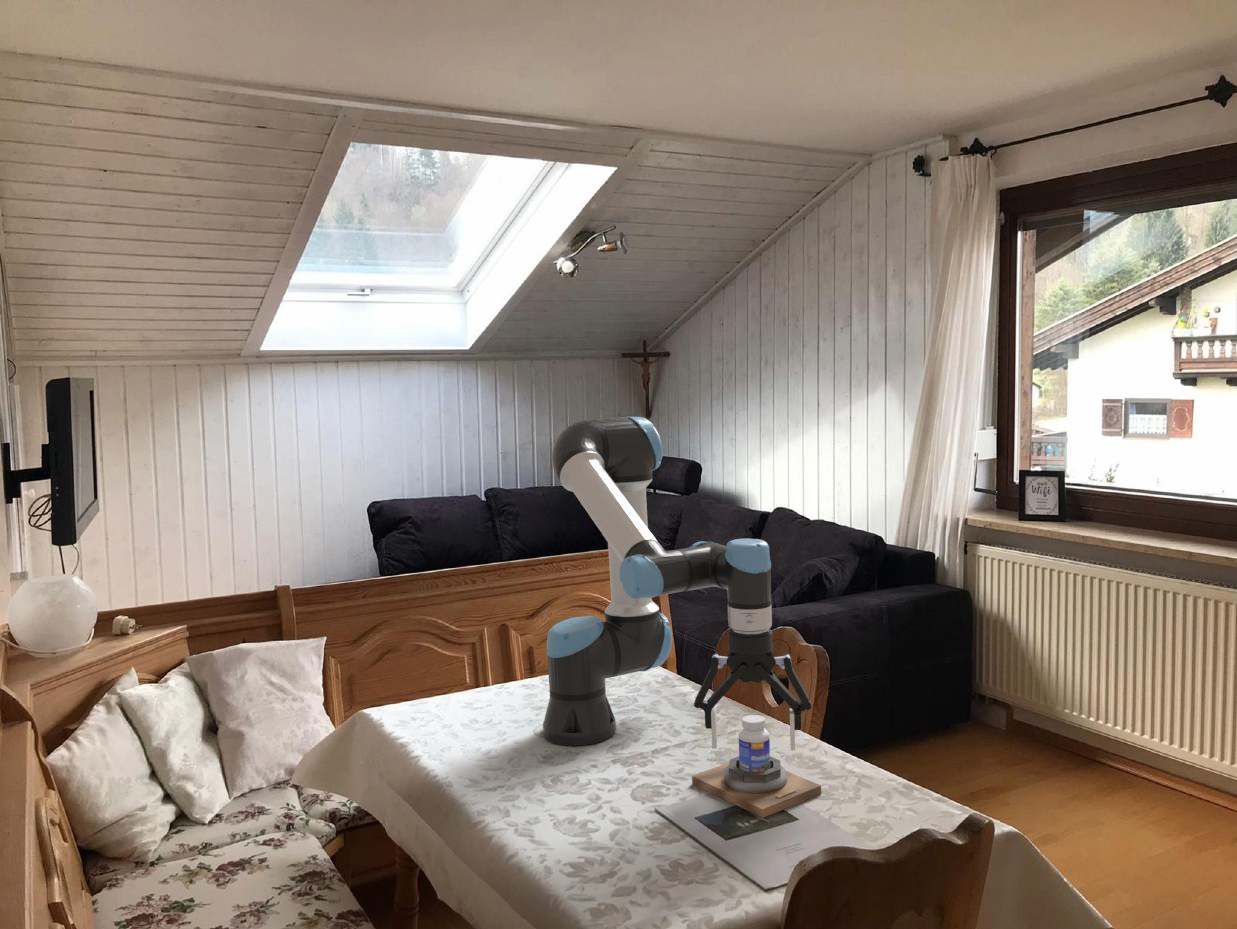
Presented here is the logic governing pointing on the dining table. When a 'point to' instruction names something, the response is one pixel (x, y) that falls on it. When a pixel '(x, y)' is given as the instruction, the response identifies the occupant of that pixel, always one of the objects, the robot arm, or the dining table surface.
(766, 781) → the hub board
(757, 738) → the pill bottle
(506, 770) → the dining table surface
